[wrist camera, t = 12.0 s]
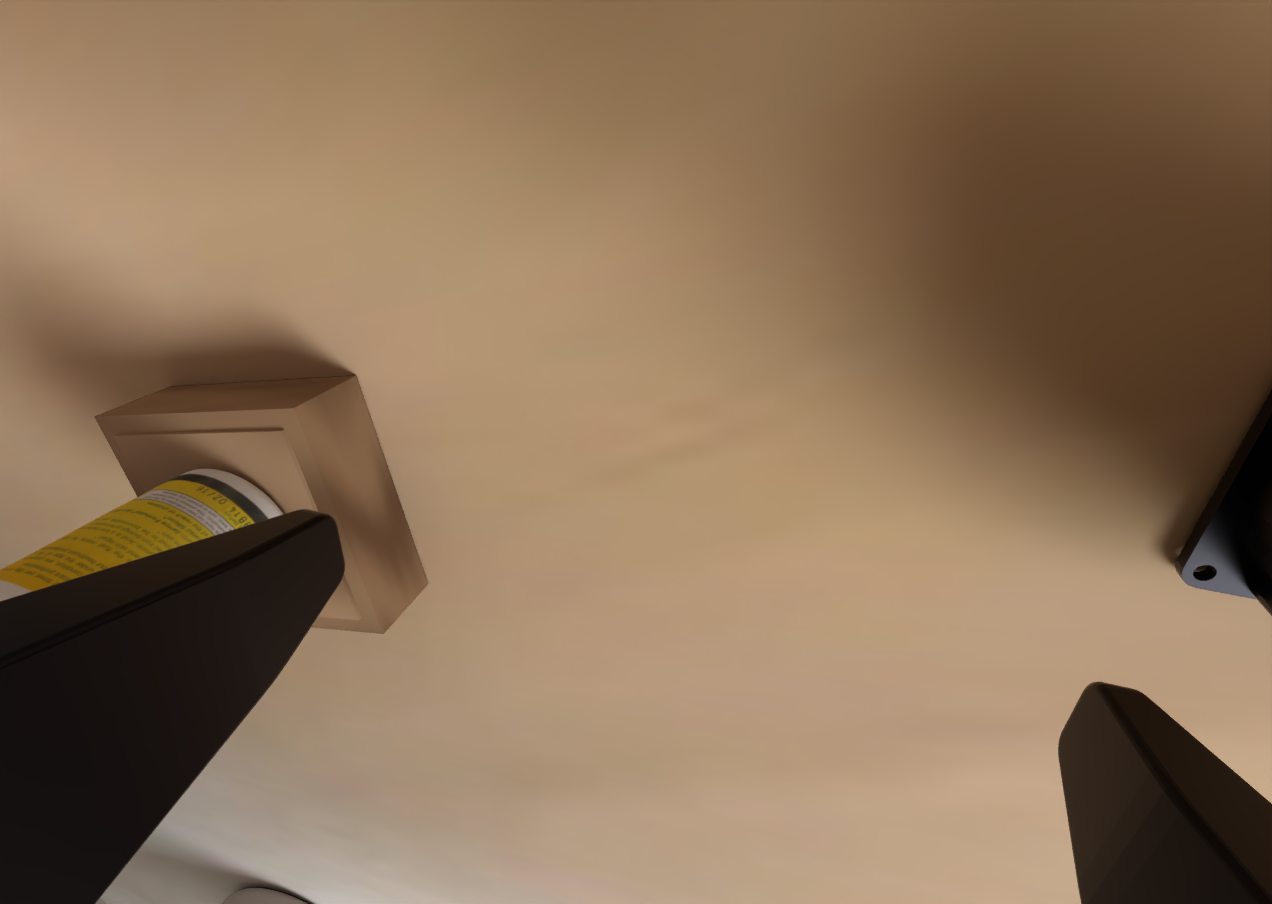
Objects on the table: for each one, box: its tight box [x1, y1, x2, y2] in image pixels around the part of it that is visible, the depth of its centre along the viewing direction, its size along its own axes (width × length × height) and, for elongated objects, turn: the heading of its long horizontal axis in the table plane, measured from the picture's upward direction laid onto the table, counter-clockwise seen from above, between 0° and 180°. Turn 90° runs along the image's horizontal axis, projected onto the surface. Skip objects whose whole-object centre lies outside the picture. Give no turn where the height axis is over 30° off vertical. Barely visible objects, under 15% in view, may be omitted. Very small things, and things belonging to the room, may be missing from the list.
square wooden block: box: [95, 376, 428, 634], centre depth 25 cm, size 9×9×3 cm
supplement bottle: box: [0, 469, 283, 601], centre depth 19 cm, size 5×5×10 cm
